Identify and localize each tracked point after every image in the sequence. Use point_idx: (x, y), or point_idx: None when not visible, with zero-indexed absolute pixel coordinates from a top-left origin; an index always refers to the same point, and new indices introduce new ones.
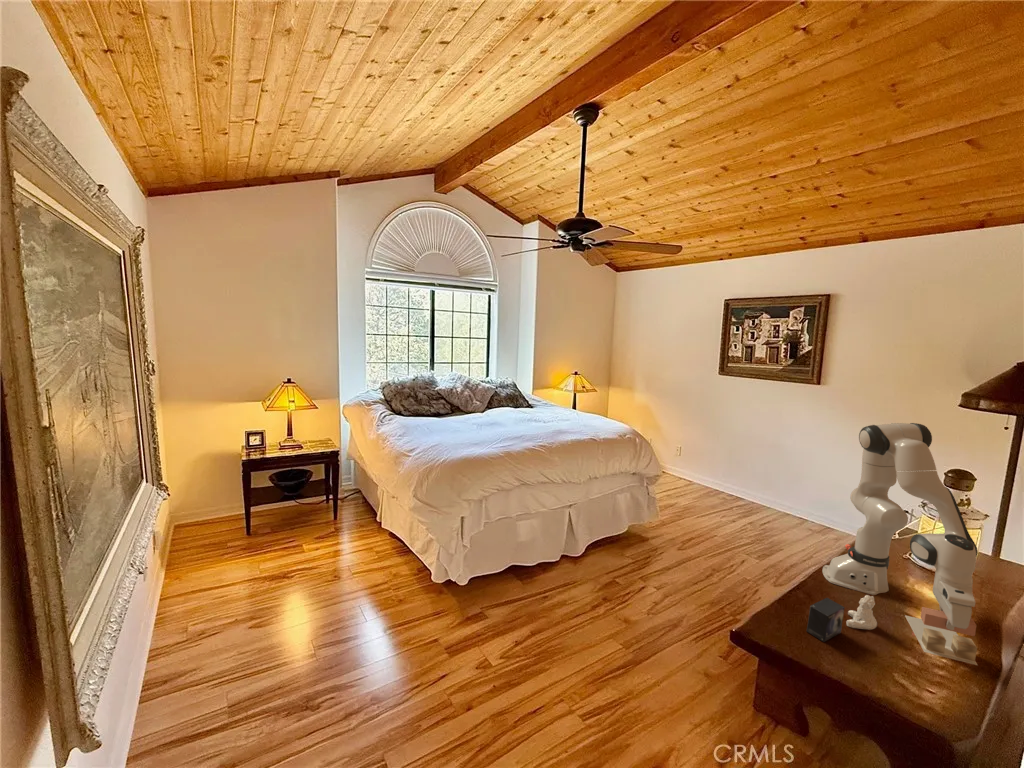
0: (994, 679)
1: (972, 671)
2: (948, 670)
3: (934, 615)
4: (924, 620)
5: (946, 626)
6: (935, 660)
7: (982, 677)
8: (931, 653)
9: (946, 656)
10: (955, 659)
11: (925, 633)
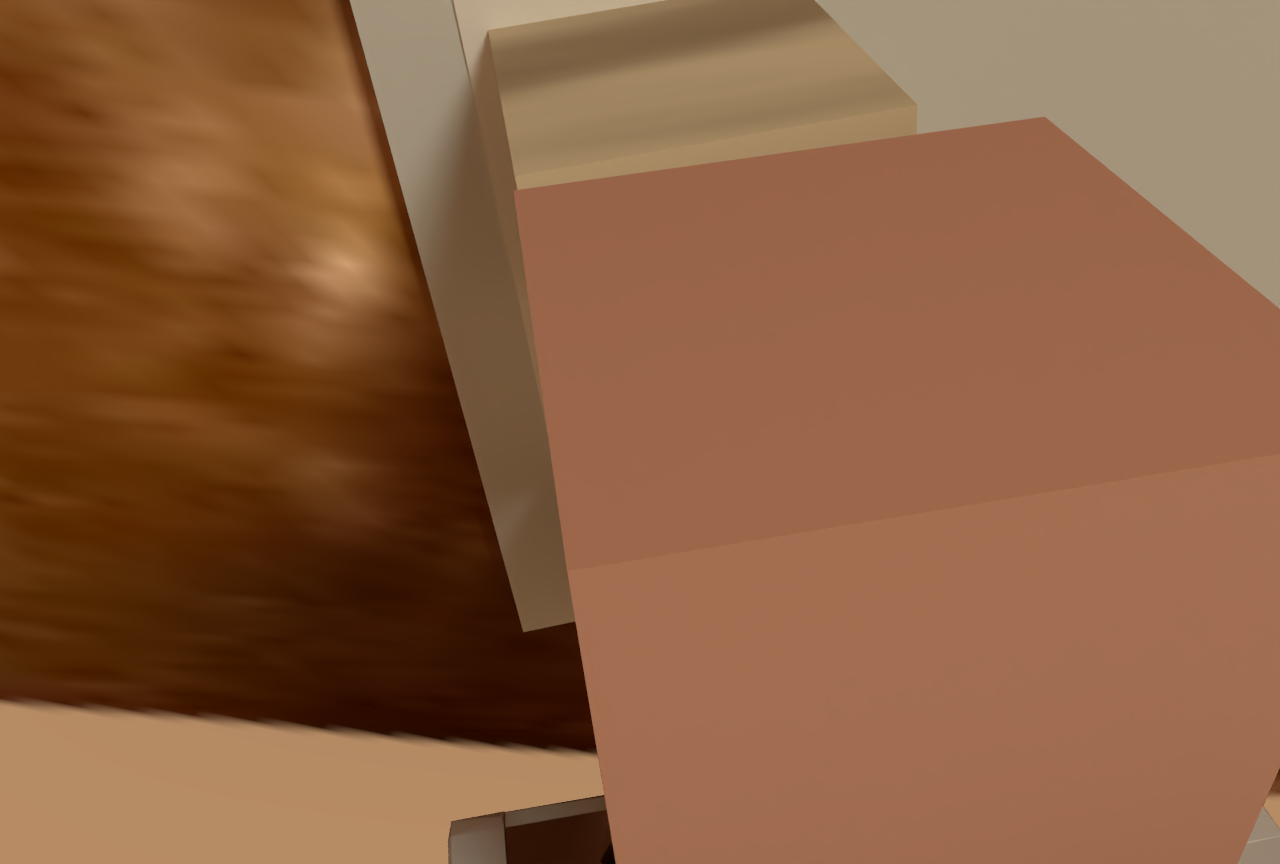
0: (340, 725)
1: (334, 567)
2: (42, 311)
3: (642, 859)
4: (564, 274)
5: (497, 841)
6: (219, 147)
7: (272, 643)
8: (391, 108)
9: (477, 326)
10: (477, 428)
11: (729, 106)
